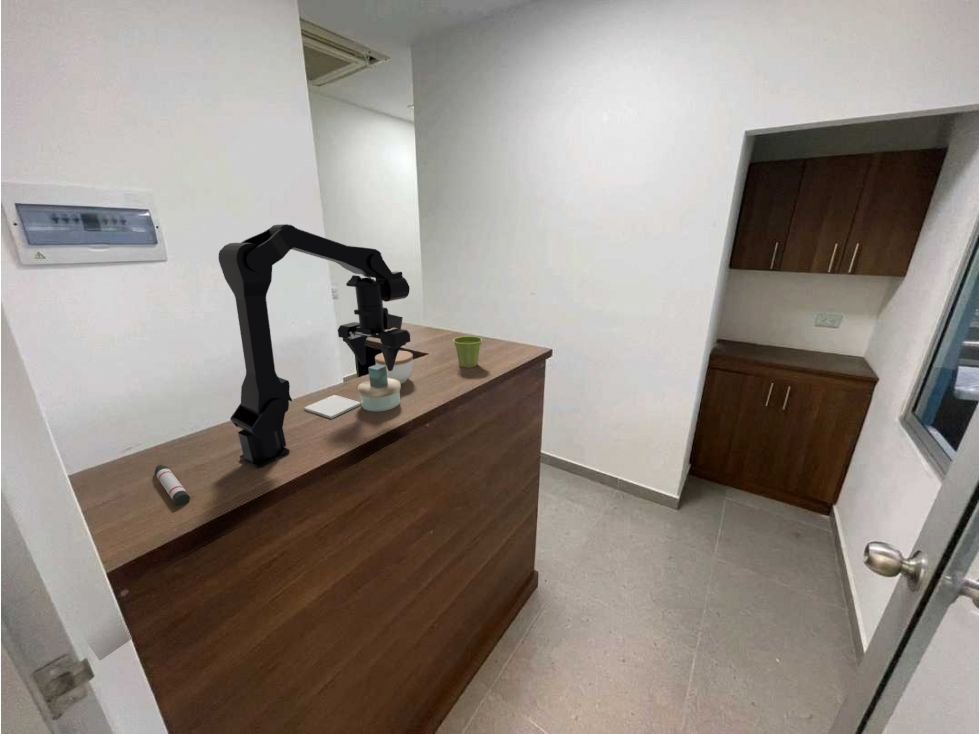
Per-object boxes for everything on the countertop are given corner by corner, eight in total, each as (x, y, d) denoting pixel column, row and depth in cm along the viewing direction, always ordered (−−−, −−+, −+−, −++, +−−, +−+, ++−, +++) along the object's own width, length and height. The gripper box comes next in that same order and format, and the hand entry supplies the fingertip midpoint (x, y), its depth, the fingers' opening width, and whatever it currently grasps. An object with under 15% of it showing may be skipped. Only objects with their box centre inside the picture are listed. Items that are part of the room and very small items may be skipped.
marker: (191, 502, 63) (188, 491, 62) (177, 508, 61) (173, 498, 61) (166, 468, 72) (163, 458, 71) (152, 473, 70) (149, 463, 70)
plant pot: (451, 362, 129) (450, 337, 126) (478, 359, 131) (477, 334, 128) (457, 371, 120) (456, 344, 117) (486, 368, 123) (485, 342, 120)
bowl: (381, 414, 92) (379, 399, 90) (353, 406, 96) (351, 391, 95) (407, 400, 99) (406, 386, 98) (381, 393, 104) (379, 379, 102)
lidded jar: (405, 388, 107) (403, 357, 104) (370, 386, 109) (367, 354, 106) (420, 375, 117) (417, 346, 114) (387, 373, 119) (384, 344, 116)
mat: (331, 418, 90) (331, 416, 90) (304, 409, 94) (304, 407, 94) (361, 404, 97) (360, 402, 97) (334, 396, 102) (334, 394, 102)
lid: (379, 400, 90) (376, 377, 88) (348, 392, 94) (345, 369, 92) (409, 386, 98) (407, 364, 96) (379, 379, 103) (377, 357, 101)
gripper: (423, 302, 91) (427, 364, 96) (368, 296, 100) (374, 353, 105) (390, 310, 82) (396, 378, 87) (332, 303, 91) (341, 365, 96)
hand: (376, 367), depth 94 cm, fingers open, 9 cm apart
